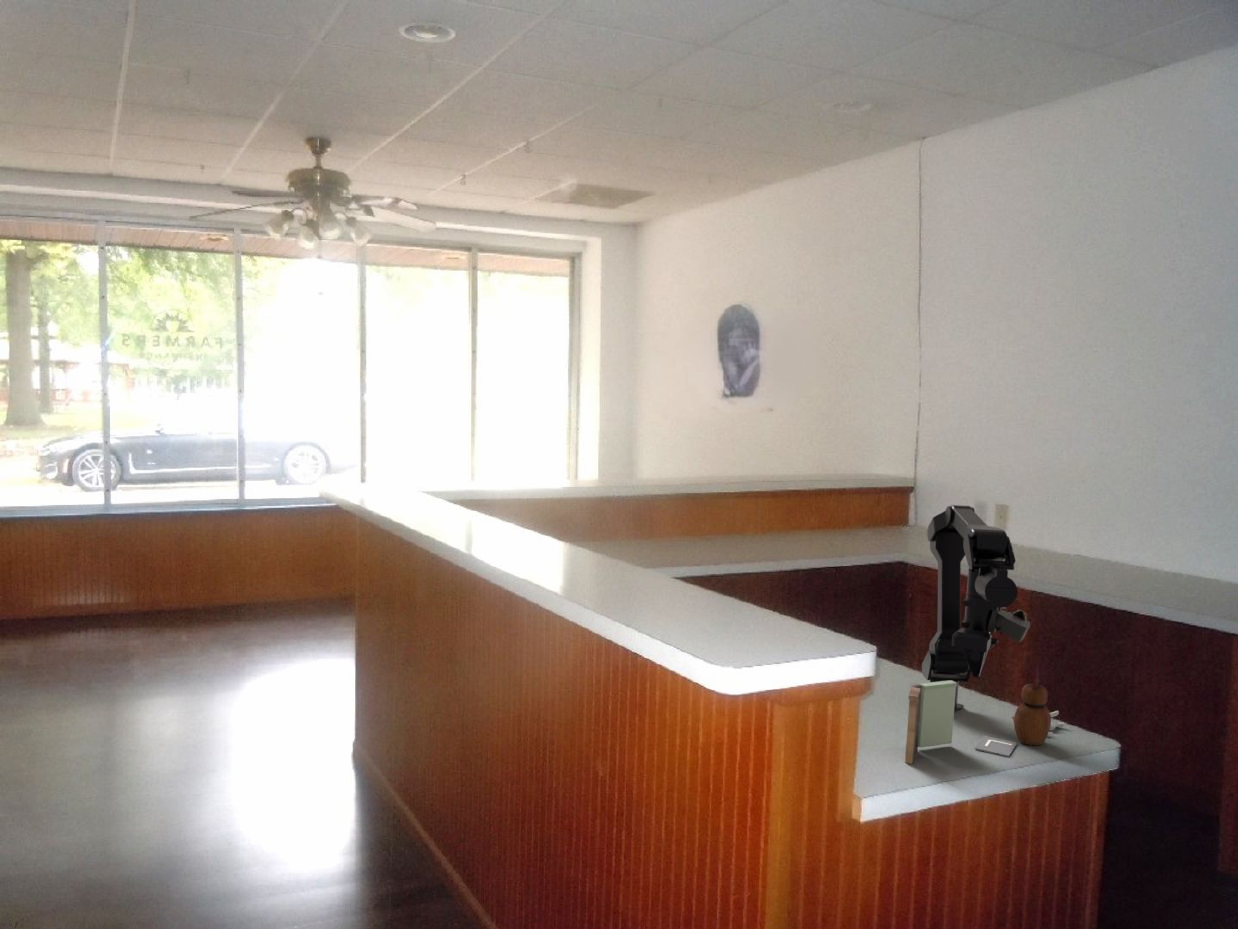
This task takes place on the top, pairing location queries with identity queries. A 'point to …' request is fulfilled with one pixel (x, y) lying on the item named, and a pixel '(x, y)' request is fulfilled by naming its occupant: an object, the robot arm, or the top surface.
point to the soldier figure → (1052, 723)
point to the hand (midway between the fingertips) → (976, 676)
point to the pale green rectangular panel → (936, 713)
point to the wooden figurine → (1033, 714)
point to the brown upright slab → (913, 722)
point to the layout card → (996, 746)
